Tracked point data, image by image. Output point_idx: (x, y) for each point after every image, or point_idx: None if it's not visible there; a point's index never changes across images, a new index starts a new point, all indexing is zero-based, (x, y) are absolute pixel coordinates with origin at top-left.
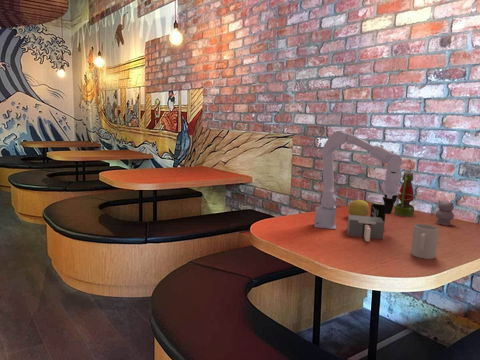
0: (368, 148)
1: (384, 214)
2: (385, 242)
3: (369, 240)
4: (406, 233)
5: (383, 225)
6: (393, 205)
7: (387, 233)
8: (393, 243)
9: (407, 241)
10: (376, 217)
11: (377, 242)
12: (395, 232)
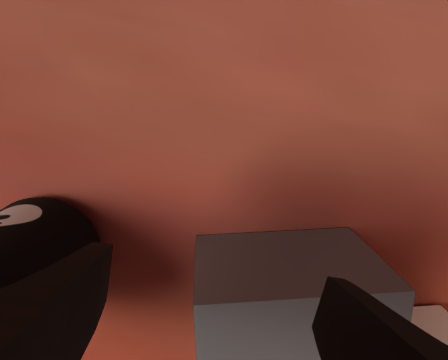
0: None
1: (12, 265)
2: (418, 218)
3: (443, 309)
4: (99, 26)
5: (401, 283)
6: (70, 275)
7: (177, 181)
8: (428, 173)
9: (352, 68)
10: (204, 341)
11: (429, 262)
12: (113, 116)
